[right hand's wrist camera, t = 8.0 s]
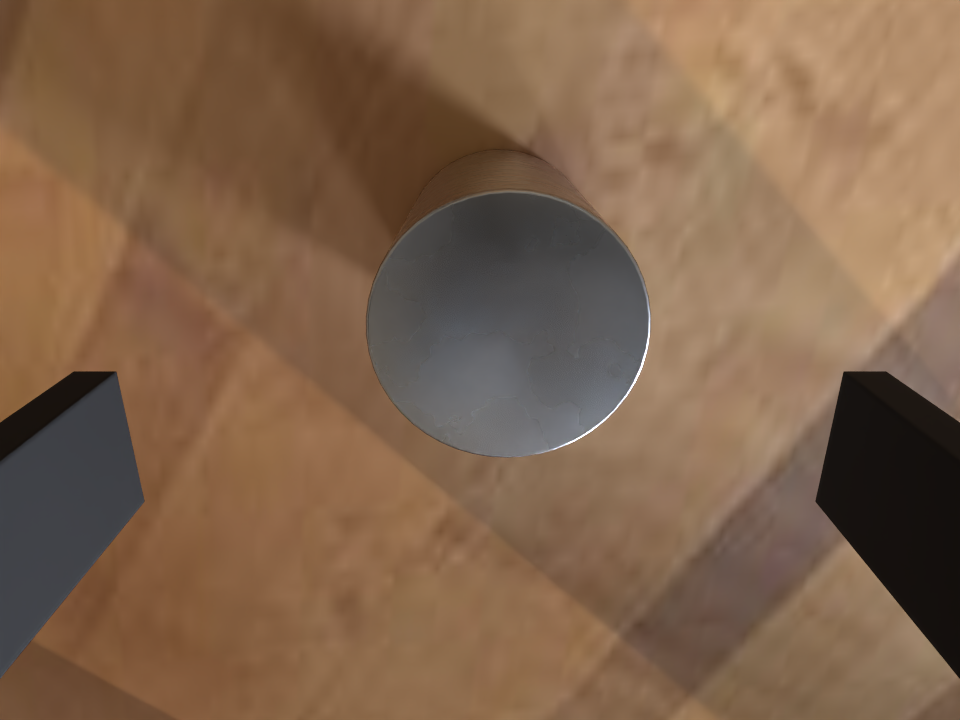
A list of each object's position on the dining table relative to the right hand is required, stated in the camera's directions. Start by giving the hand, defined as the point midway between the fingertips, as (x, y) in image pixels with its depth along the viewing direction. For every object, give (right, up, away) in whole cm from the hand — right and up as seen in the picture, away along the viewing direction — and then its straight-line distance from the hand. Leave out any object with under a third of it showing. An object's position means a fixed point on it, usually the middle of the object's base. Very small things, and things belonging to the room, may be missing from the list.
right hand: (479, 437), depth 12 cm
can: (+1, +5, +11) cm, 12 cm away
